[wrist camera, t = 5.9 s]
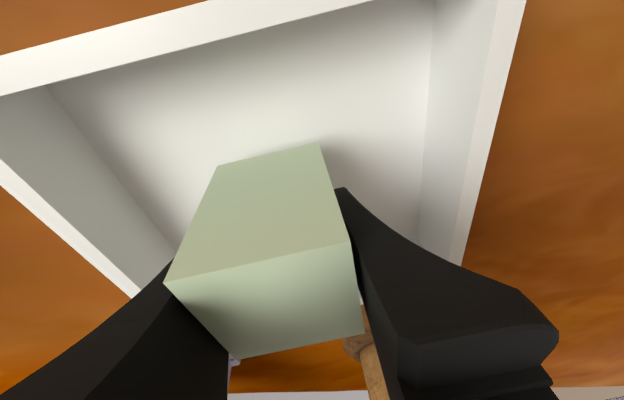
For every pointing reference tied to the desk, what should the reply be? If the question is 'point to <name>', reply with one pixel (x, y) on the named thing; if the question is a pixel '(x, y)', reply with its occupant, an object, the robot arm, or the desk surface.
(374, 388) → the wooden pepper mill
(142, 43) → the white bin
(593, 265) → the desk surface
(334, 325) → the green block
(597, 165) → the desk surface
